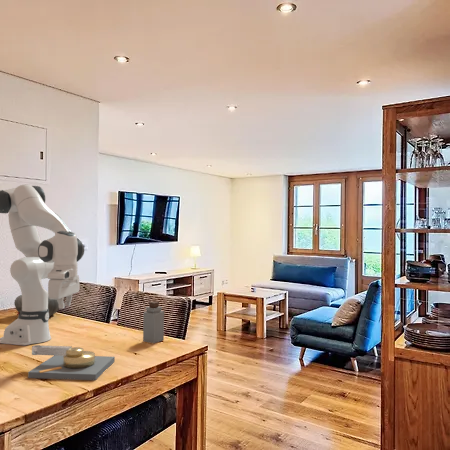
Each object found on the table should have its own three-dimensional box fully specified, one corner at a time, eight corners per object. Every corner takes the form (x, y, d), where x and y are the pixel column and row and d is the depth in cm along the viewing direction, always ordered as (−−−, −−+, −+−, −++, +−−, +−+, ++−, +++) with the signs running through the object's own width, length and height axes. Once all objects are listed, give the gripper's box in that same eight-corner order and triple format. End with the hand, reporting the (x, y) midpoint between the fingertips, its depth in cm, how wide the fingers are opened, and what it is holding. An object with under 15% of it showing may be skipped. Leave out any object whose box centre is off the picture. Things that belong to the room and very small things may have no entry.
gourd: (10, 318, 224) (15, 286, 228) (13, 316, 247) (18, 287, 250) (59, 319, 234) (63, 289, 237) (58, 318, 256) (61, 290, 260)
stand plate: (27, 378, 142) (27, 371, 142) (55, 359, 162) (55, 354, 162) (95, 380, 141) (95, 374, 141) (114, 361, 161) (114, 355, 161)
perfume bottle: (153, 343, 188) (154, 304, 188) (143, 341, 191) (143, 302, 192) (163, 340, 194) (164, 302, 194) (152, 338, 197) (153, 300, 197)
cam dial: (99, 359, 157) (99, 343, 157) (87, 368, 146) (88, 352, 146) (39, 357, 158) (40, 342, 158) (24, 366, 147) (24, 350, 147)
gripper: (69, 269, 172) (68, 302, 172) (45, 274, 152) (44, 312, 152) (83, 269, 172) (83, 302, 172) (61, 275, 151) (60, 312, 151)
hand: (64, 307), depth 161 cm, fingers open, 4 cm apart
